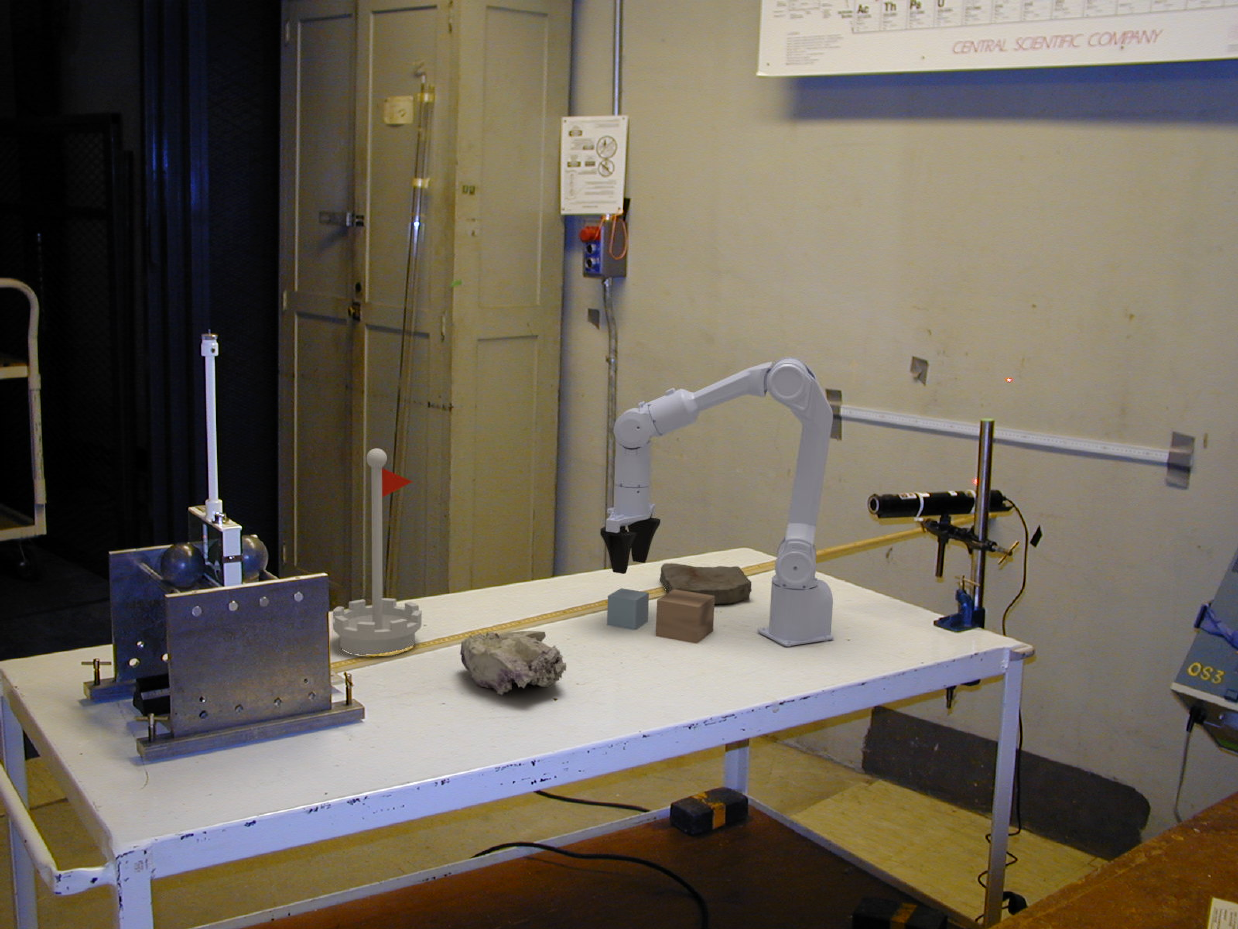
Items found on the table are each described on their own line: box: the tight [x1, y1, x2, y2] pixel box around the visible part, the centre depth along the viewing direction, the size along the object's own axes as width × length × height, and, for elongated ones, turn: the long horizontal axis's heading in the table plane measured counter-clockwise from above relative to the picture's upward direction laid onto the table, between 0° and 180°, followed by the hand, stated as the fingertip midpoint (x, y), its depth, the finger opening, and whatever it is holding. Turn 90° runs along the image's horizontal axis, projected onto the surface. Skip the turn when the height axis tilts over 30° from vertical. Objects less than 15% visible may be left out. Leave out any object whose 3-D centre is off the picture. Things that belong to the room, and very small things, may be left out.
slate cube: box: [606, 587, 650, 631], centre depth 193 cm, size 5×5×5 cm
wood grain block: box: [655, 589, 715, 644], centre depth 189 cm, size 7×7×6 cm
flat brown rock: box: [659, 562, 752, 605], centre depth 211 cm, size 17×15×4 cm
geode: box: [459, 630, 567, 696], centre depth 165 cm, size 17×9×15 cm
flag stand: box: [332, 447, 423, 655], centre depth 177 cm, size 13×13×30 cm
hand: (629, 567), depth 192 cm, fingers open, 7 cm apart
